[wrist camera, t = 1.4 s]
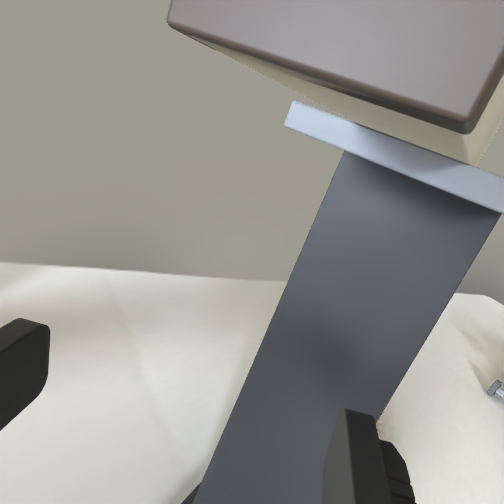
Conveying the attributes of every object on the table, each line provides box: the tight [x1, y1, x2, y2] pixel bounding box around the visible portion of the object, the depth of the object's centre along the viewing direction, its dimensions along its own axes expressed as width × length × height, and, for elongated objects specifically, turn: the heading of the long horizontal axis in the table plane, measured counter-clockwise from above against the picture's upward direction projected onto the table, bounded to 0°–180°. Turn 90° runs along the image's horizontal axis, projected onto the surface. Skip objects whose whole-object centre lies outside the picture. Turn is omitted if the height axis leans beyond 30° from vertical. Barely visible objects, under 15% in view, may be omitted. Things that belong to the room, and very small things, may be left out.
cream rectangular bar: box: [167, 0, 504, 167], centre depth 15 cm, size 4×24×3 cm, turn 149°
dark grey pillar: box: [181, 101, 504, 504], centre depth 24 cm, size 10×13×32 cm
